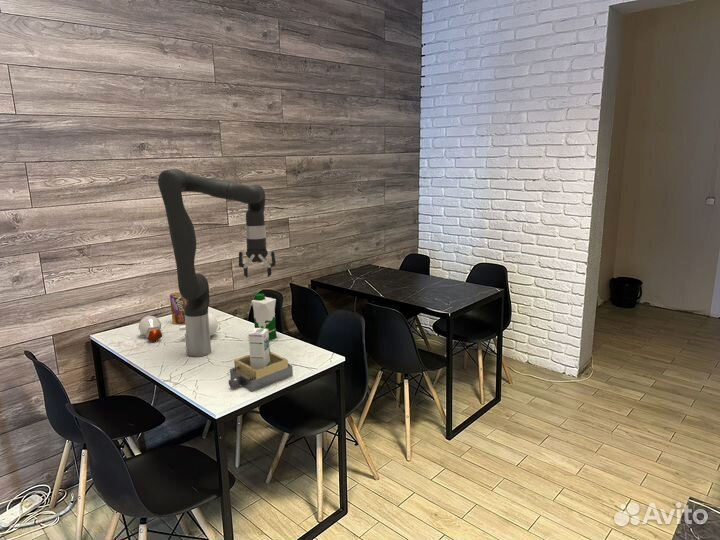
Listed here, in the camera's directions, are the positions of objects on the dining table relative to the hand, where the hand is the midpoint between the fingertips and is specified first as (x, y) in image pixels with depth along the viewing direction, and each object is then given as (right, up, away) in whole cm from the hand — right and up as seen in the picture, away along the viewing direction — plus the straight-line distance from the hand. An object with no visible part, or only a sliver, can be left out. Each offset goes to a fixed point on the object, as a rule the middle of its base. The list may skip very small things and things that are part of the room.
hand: (258, 276), depth 199 cm
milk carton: (-2, -28, +25) cm, 38 cm away
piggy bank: (-32, -28, +28) cm, 50 cm away
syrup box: (+4, -34, -14) cm, 37 cm away
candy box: (-46, -23, +45) cm, 68 cm away
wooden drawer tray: (+3, -38, -15) cm, 40 cm away
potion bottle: (-53, -28, +26) cm, 65 cm away
